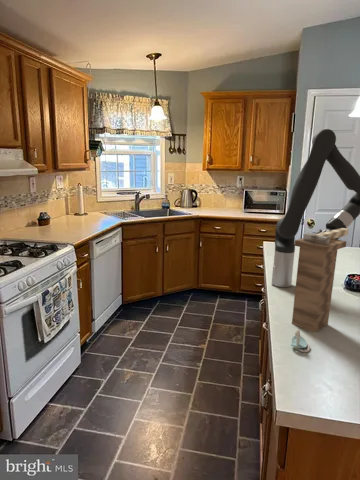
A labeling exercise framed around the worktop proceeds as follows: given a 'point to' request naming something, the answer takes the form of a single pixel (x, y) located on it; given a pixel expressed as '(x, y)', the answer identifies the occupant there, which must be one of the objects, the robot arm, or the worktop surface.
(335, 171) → the robot arm
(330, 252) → the stand
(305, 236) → the beige block
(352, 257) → the worktop surface
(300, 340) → the pacifier
